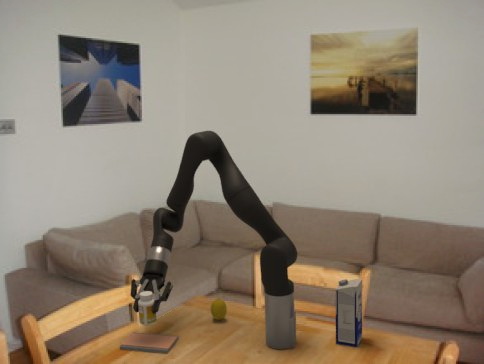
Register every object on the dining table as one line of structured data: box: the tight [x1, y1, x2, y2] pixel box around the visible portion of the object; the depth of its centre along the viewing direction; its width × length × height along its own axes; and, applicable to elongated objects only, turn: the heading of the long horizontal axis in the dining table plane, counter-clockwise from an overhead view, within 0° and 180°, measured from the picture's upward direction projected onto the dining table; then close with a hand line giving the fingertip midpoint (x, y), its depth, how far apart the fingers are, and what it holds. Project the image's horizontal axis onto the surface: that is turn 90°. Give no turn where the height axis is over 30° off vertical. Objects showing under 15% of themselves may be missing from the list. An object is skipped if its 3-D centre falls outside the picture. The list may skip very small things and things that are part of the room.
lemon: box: [210, 298, 228, 321], centre depth 192 cm, size 6×6×8 cm
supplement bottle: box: [138, 290, 158, 326], centre depth 175 cm, size 5×5×10 cm
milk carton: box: [334, 278, 363, 348], centre depth 172 cm, size 7×7×20 cm
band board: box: [119, 332, 180, 354], centre depth 177 cm, size 16×10×1 cm, turn 76°
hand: (145, 312), depth 173 cm, fingers closed on supplement bottle, 5 cm apart
